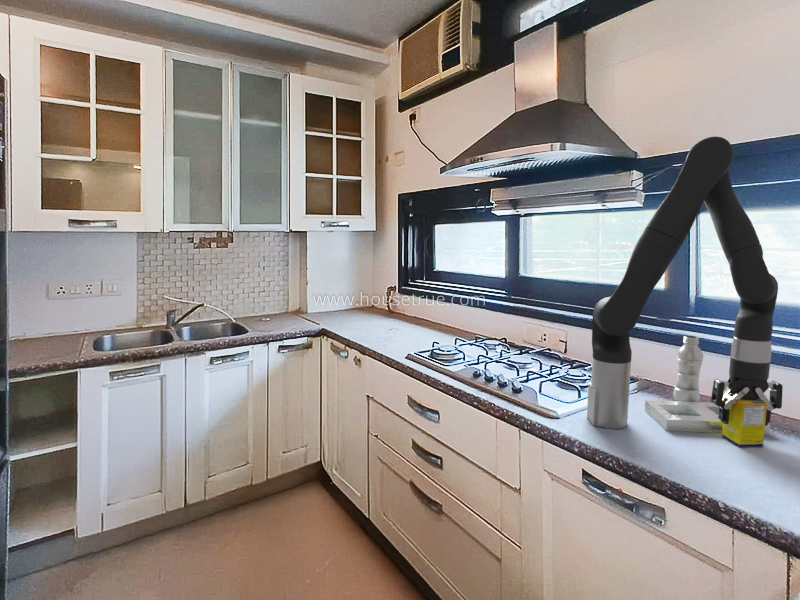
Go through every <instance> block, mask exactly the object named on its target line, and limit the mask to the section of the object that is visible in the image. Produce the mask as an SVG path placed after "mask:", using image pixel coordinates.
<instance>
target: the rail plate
mask: <svg viewBox="0 0 800 600" xmlns="http://www.w3.org/2000/svg"><path fill="white" fill-rule="evenodd" d="M644 412H646V413H647V414H648V415H649V416H650V417H651V418H652V419H653V420H654V421H655V422H656V423H658V424H659V425H660V426H661V427H662V428H663V429H664V430H665V431H666V432H688V433H692V432H693V433H710V434H711V433H712V434H714V433H715V434H722V431H723V423H722V422H721V420H720V419H719V417H718V416H719V406H716V405H715V404H713V403H712V402H707V401H706V402H705V401H698V402H680V401H675V400H652V399H651V400H650V399H649V400H647V399H646V400H645V403H644ZM770 429H771V422H769V423H768V425H767V426H765V432H764V436H770Z"/></svg>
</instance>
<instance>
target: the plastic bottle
mask: <svg viewBox="0 0 800 600" xmlns="http://www.w3.org/2000/svg"><path fill="white" fill-rule="evenodd" d="M699 340H700V338H699V337H698V336H696V335H684V336H683V340H682V343H683V345H681V347H680V348H679V349H678V351H676V352H677V353H676V362H677V374H676V375H677V377H676V381H675V386H674V389H673V393H672V396H673V399H674V401H680V402H700V399H701V398H700V397H701V396H700V393H701V392H700V388H699V387H700V386H699V385H700V380H699V379H700V373H701V367H702V363H703V361H704V353H703V351H702V350H701V348H700V347H699V344H700V341H699Z"/></svg>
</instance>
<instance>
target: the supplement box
mask: <svg viewBox="0 0 800 600" xmlns="http://www.w3.org/2000/svg"><path fill="white" fill-rule="evenodd" d="M733 396H734V395H732V397H733ZM729 410H730V413H729V423H728V424H724V423H723V431H722V433H721V438H722V439H723V440H725V441H727V442H729V443H731V444H732V445H734V446H736V447H738V448H759V447H761V448H762V447H763V446H764V439H765V435H764V432H765V421H766V410H767V402H765V401H761V400H760V399H757V400H741V399H740V400H739V401H738V402H737V403H734V404H733V405H732V406H731V407H730V408H729Z"/></svg>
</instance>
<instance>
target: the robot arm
mask: <svg viewBox="0 0 800 600" xmlns="http://www.w3.org/2000/svg"><path fill="white" fill-rule="evenodd" d="M734 154H735V153H734V149H733V145H732V144H731V143H730V142H729V140H727V139H726V138H724V137H721V136H710V137H706V138H704V139H702V140H699V141H698V142H697V143H695V144H694V145H693V146H692V147H691V148H690V150H689V151H688V154H687V156H686V158H685V162H684V164H683V166H682V168H681V171H680V172H679V175H678V176H677V178H676V180H675V182H674V185H673V186H672V187H671V190H670V191H669V192H668V194H667V196H665V198H664V199H663V201H662V202H661V203H660V205H659V206H658V208H657V209H656V210H655V212H654V213H653V215H652V216H651V218H650V219H649V221H648V222H647V224H646V225H645V226H644V228H643V230H642V232H641V233H640V235H639V237H638V239H637V240H636V242H635V244H634V247H633V248H632V251H631V254H630V258H629V260H628V264H627V267H626V271H625V273H624V275H623V277H622V280H621V281H620V283H619V285H618V286H617V287H616V289H615V291H614V292H613V294H612V295H611V296H608V297H607V296H606V297H603V298H602V299H600V300H599V301H598V302H596V304H595V305H594V309H593V311H592V312H593V313H592V323H591V324H592V326H591V327H592V328H591V346H592V358H591V359H592V361H591V379H590V382H589V383H588V393H587V406H586V407H587V411H586V412H587V413H586V418H587V419H588V421H589V422H590V423H591V425H592V426H597V427H602V428H606V429H614V430H615V429H616V430H617V429H618V430H619V429H623V428H624V429H625V428H626V427H627V426H628V419H629V415H628V414H629V402H630V401H629V400H630V399H629V398H630V384H631V373H632V371H631V370H632V356H633V355H632V348H631V342H630V335H631V333H630V332H631V331H632V330H633V329H634V328H635V326H636V325H637V323H638V321H639V319H640V317H641V314H642V312H643V310H644V308H645V306H646V303H647V302H648V300H649V297H650V295H651V294H652V292H653V291H654V289H655V287H656V286H657V284H658V283H659V282H660V280H661V278H662V277H663V275H664V274H665V273H666V271H667V269H668V268H669V266H670V264H671V263H672V261H673V260H674V259H675V258H676V255H677V254H678V253H679V250H681V247H682V246H683V244H684V243H685V240H686V239H687V236H688V235H689V233H690V231H691V229H692V227H693V225H694V222H695V221H696V219H697V216H698V214H699V212H700V209H701V207H702V205H703V203H704V205H705V207H706V209H707V211H708V213H709V216H710V218H711V221H712V224H713V227H714V229H715V233H716V235H717V238H718V240H719V243H720V246H721V249H722V251H723V254H724V256H725V258H726V260H727V262H728V265H729V270H730V275H731V279H732V282H733V286H734V289H735V291H736V293H737V296H738V297H739V299H740V301H739V310H738V314H737V315H736V318H735V322H734V330H733V338H732V339H733V340H732V341H731V342H732V343H731V348H730V349H731V350H730V359H729V371H728V375H729V378H728V379H727V380H721V379H718V378H715V379H714V380H713V384H712V391H711V397H710V403H713V404H715V405H716V406H719V416H718V417H719V419H720V420H721V422H722V423H724V424H728V423H729V413H730V410H729V408H730V407H731V406H732V405H733V404H734V403H737V402H738V401H739V400H740V399H741V400H757V399H760V400H761V401H765V402H767V410H766V421H765V426H767V425H768V423H771V418H772V417H771V414H772V411H773V410H774V409H780V410H781V408H782V407H783V406H782V405H783V384H781V383H780V382H778V381H775V380H771V381H770V382H768V379H769V377H770V370H771V369H770V368H771V361H772V336H773V335H772V334H773V323H774V319H773V318H774V312H775V308H776V304H777V303H776V302H777V299H778V291H779V283H778V280H777V279H776V277H775V276H774V275H772V274H771V273H770V272H769V270H768V267H767V265H766V262H765V260H764V251H763V247H762V244H761V242H760V239H759V237H758V235H757V231H756V229H755V227H754V225H753V223H752V220H751V219H750V218H749V216H748V214H747V213H746V211H745V210H744V208H743V207H742V205H741V203H740V202H739V200H738V198H737V195H736V193H735V191H734V188H733V185H732V181H731V180H732V179H731V176H730V170H729V168H731V166H732V164H733V162H734ZM727 388H728V390H727ZM726 390H727V391H726ZM768 390H769V399H768V398H767V396H766V395H765V394H764V393H766V391H768ZM725 391H726V392H725ZM724 392H725V393H724ZM732 395H734V396H733V397H732Z"/></svg>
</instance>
